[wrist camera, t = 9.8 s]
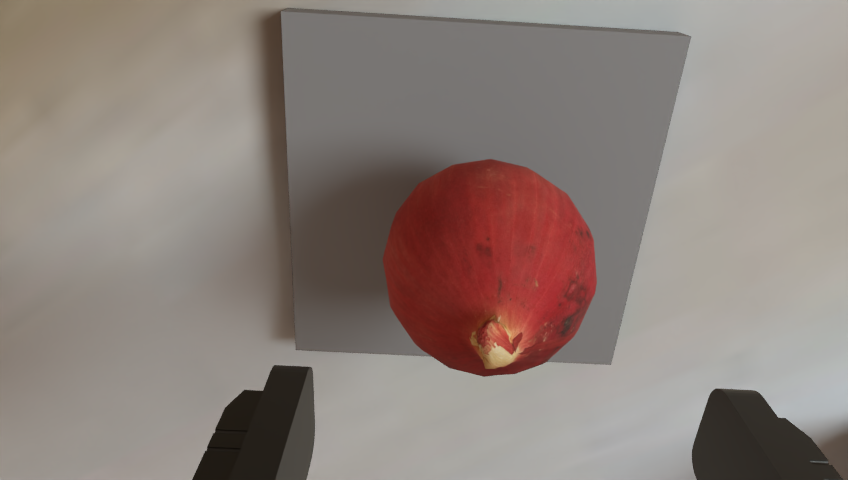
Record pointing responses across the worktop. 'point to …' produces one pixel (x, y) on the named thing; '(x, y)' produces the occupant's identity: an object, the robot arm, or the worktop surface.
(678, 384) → the worktop surface
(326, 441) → the worktop surface
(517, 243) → the onion
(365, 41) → the mat
